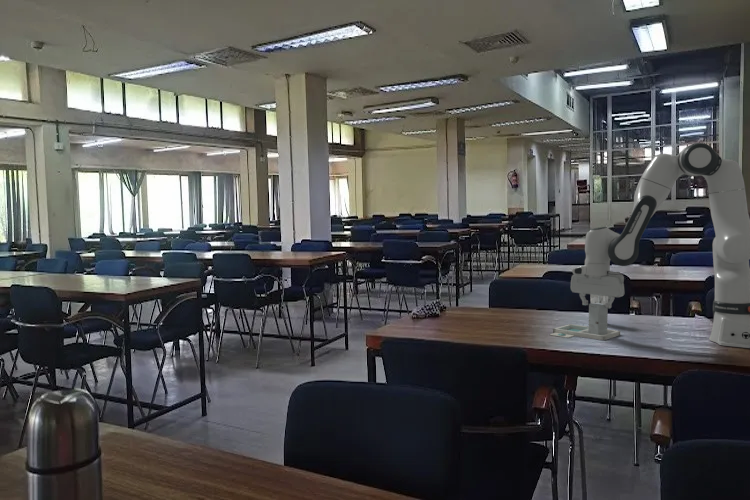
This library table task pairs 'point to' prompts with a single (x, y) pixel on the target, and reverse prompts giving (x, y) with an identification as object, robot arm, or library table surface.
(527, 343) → the library table surface
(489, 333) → the library table surface
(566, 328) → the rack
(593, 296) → the beer glass
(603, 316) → the skincare box
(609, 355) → the library table surface
